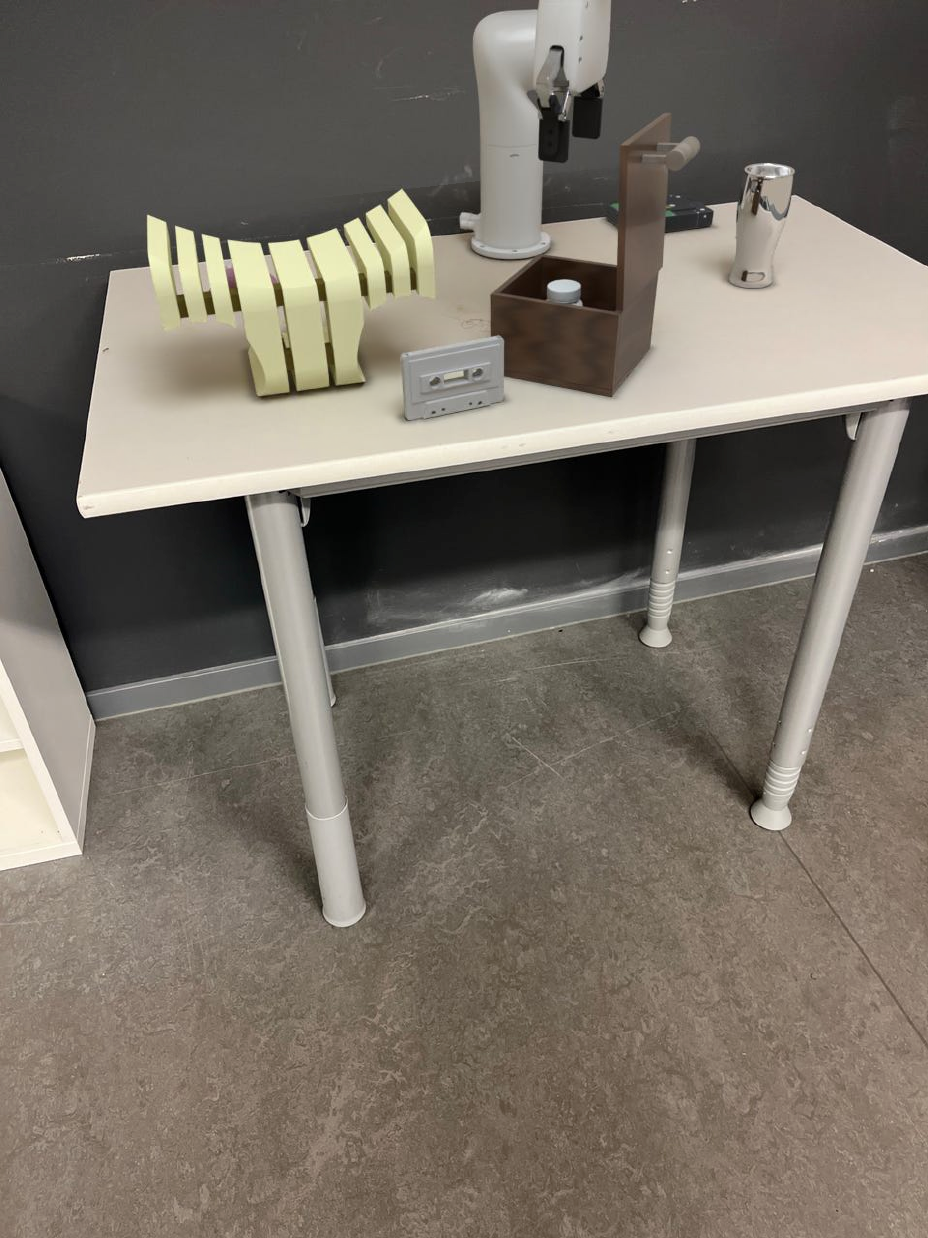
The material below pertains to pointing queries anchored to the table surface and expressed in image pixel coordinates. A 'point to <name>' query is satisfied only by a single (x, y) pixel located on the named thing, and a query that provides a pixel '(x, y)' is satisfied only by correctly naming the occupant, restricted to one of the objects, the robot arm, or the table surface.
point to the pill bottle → (564, 292)
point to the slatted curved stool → (298, 291)
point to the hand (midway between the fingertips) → (569, 148)
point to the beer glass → (760, 222)
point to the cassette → (454, 392)
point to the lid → (645, 203)
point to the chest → (571, 326)
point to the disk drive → (675, 213)
